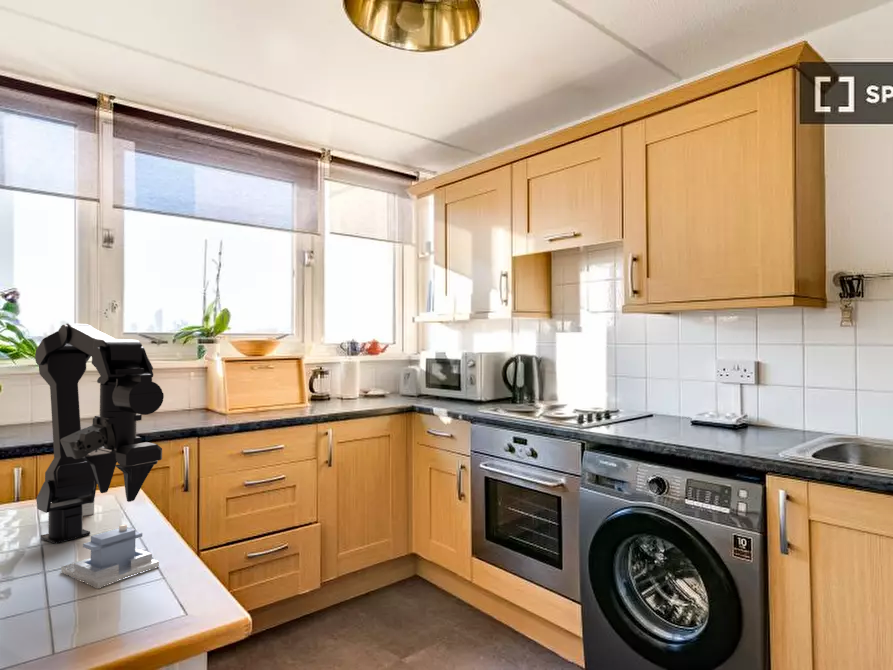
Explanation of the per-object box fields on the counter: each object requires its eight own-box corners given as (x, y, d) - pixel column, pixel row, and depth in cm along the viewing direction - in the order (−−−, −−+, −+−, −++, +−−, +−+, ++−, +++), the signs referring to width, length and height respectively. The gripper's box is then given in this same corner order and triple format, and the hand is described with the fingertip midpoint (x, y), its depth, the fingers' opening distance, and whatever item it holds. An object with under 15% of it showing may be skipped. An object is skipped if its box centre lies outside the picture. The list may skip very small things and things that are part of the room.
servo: (93, 575, 90) (93, 536, 90) (82, 571, 92) (83, 533, 92) (142, 559, 97) (142, 523, 97) (131, 555, 98) (131, 520, 99)
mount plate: (61, 572, 93) (61, 559, 94) (121, 553, 102) (121, 541, 102) (97, 588, 87) (97, 574, 87) (158, 567, 96) (158, 554, 96)
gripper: (43, 410, 97) (41, 498, 97) (96, 419, 87) (94, 518, 87) (109, 404, 106) (108, 485, 106) (164, 412, 96) (163, 501, 96)
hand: (116, 496), depth 98 cm, fingers open, 9 cm apart
